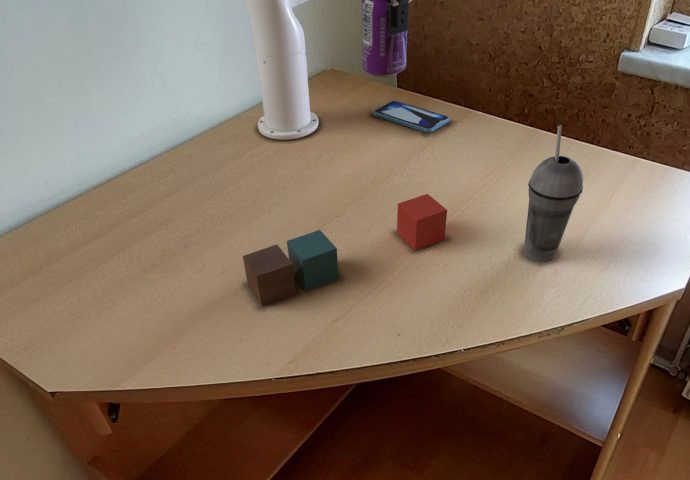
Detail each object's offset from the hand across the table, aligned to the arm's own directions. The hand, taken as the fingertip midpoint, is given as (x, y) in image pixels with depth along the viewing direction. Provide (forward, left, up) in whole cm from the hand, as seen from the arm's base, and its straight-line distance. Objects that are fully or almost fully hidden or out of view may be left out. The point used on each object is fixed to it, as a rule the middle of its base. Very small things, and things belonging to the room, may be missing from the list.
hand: (384, 24), depth 97 cm
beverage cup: (+35, +7, -25) cm, 43 cm away
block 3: (+22, -6, -25) cm, 33 cm away
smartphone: (-14, +15, -25) cm, 32 cm away
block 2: (+22, -25, -25) cm, 41 cm away
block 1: (+22, -32, -25) cm, 46 cm away
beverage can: (0, 0, -7) cm, 7 cm away
